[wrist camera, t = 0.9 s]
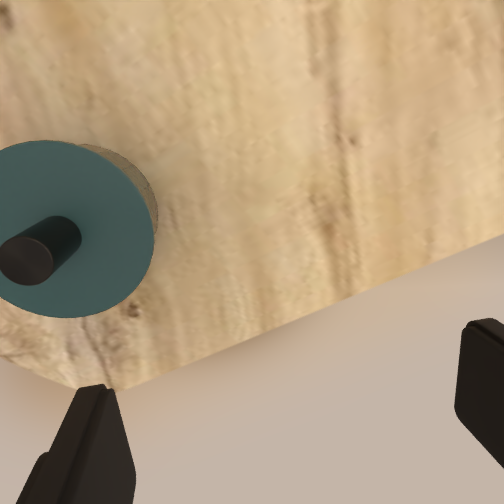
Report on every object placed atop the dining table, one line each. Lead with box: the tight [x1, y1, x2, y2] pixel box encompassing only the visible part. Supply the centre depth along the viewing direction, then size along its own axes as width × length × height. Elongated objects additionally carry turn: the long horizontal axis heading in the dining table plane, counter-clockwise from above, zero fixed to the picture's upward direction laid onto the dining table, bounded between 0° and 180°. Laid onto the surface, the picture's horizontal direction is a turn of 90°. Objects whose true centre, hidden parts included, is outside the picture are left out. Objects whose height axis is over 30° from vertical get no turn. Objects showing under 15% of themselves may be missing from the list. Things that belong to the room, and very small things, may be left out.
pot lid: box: [0, 140, 154, 318], centre depth 24 cm, size 13×13×7 cm
